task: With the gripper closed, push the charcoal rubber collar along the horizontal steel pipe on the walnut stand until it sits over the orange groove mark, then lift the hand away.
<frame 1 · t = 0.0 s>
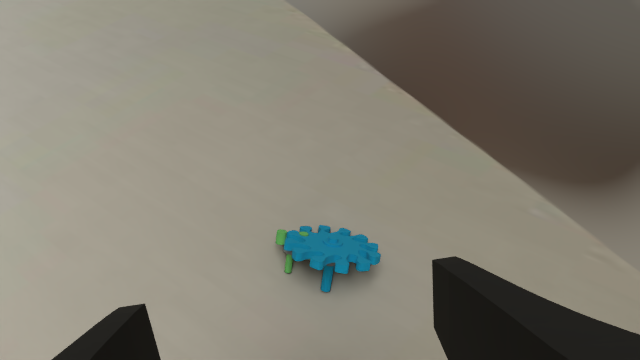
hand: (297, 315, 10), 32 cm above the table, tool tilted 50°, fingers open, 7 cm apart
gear: (326, 259, 45), on the table
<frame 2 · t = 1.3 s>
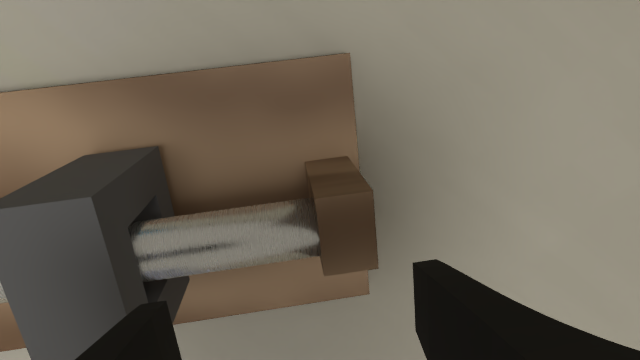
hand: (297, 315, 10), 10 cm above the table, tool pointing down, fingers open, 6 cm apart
collar: (111, 255, 15), point 5 cm above the table, slide at 0.0 cm
pipe stand: (79, 215, 19), on the table
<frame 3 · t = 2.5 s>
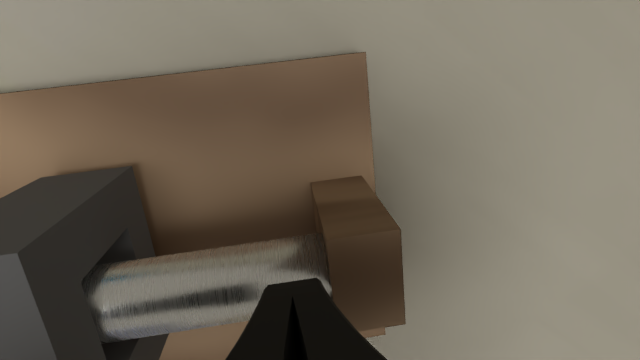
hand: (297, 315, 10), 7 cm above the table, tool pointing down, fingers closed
collar: (68, 308, 11), point 5 cm above the table, slide at 0.0 cm
pipe stand: (42, 245, 16), on the table
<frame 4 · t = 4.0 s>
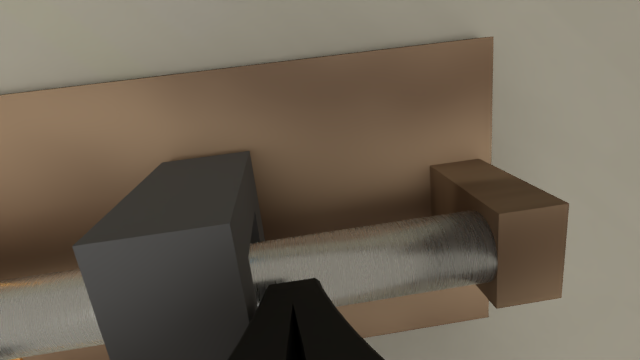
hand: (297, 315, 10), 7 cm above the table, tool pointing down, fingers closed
collar: (209, 287, 12), point 5 cm above the table, slide at 0.7 cm, touching gripper
pipe stand: (161, 229, 17), on the table
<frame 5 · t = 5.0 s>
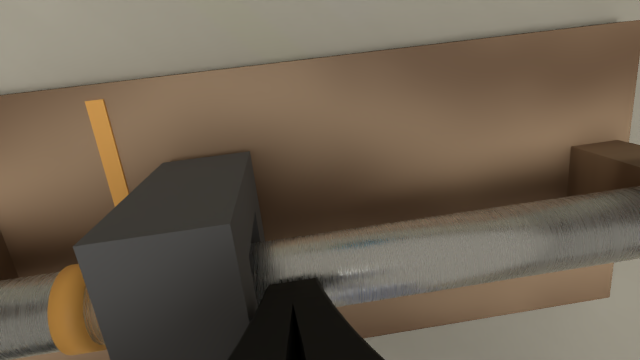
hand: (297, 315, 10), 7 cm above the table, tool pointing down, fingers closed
collar: (210, 287, 12), point 5 cm above the table, slide at 6.5 cm, touching gripper
pipe stand: (301, 209, 17), on the table
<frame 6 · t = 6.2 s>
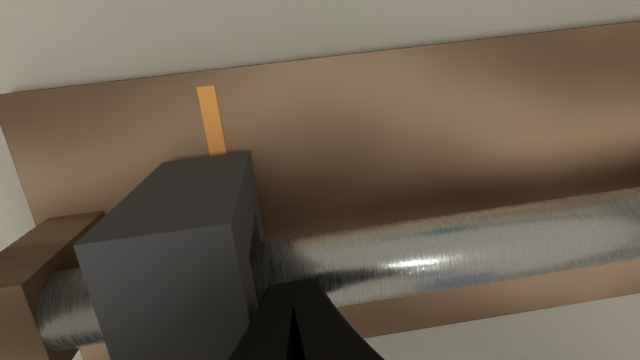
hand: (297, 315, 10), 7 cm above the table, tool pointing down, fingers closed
collar: (210, 287, 12), point 5 cm above the table, slide at 10.3 cm, touching gripper
pipe stand: (388, 196, 17), on the table
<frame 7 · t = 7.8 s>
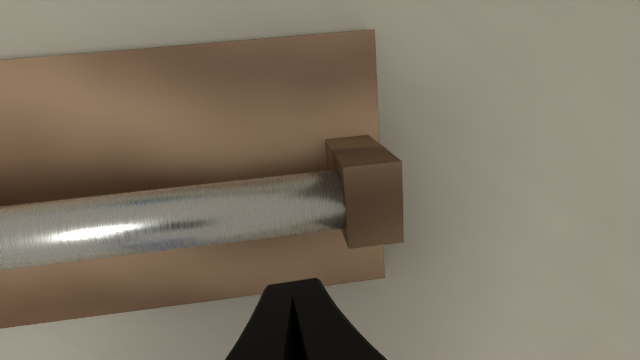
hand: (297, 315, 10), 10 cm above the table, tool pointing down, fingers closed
pipe stand: (93, 189, 19), on the table
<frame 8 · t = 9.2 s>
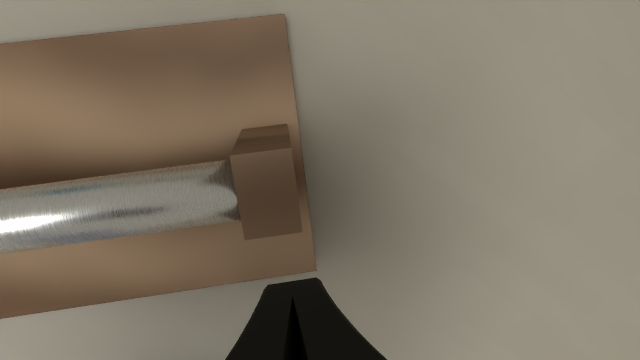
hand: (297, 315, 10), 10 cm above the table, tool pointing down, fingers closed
pipe stand: (10, 186, 18), on the table
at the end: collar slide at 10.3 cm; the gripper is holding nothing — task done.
